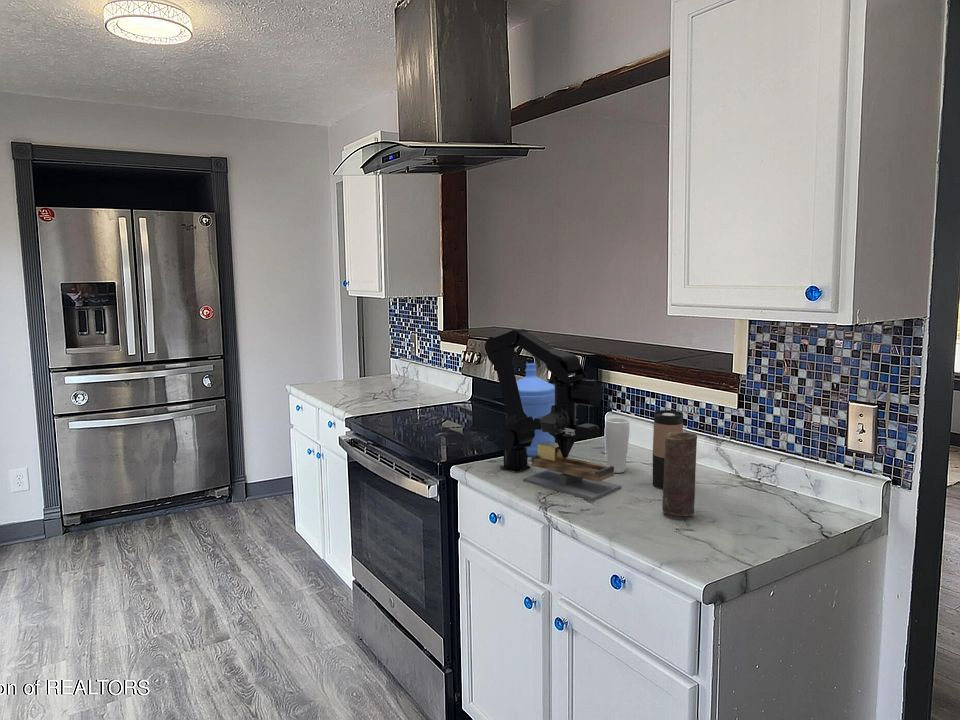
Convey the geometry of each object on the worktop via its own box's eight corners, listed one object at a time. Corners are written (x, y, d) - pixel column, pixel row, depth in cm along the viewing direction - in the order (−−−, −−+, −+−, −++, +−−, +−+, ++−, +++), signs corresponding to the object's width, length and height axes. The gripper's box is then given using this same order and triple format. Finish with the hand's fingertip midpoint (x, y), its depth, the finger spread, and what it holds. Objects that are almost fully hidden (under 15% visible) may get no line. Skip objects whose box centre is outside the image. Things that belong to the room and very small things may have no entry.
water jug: (537, 460, 212) (537, 369, 208) (496, 451, 221) (496, 364, 217) (564, 449, 224) (565, 363, 220) (524, 441, 233) (524, 359, 229)
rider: (537, 461, 193) (537, 444, 192) (547, 458, 196) (547, 441, 195) (554, 465, 189) (554, 447, 188) (564, 462, 192) (564, 444, 191)
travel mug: (683, 483, 189) (685, 411, 187) (678, 491, 183) (681, 417, 180) (654, 479, 193) (656, 408, 190) (648, 487, 186) (651, 414, 183)
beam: (531, 465, 193) (531, 456, 192) (547, 460, 198) (547, 451, 198) (598, 482, 178) (598, 472, 177) (613, 475, 183) (613, 466, 183)
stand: (523, 481, 192) (523, 468, 191) (552, 470, 201) (552, 458, 200) (592, 500, 176) (593, 487, 175) (620, 488, 185) (621, 475, 185)
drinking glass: (628, 475, 197) (629, 423, 195) (604, 473, 198) (605, 422, 196) (628, 468, 203) (629, 417, 201) (604, 466, 205) (605, 417, 202)
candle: (688, 523, 161) (692, 438, 158) (657, 517, 165) (660, 434, 162) (697, 513, 167) (701, 431, 164) (667, 507, 171) (670, 428, 168)
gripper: (519, 401, 187) (519, 457, 190) (575, 410, 175) (575, 471, 177) (545, 395, 195) (545, 449, 198) (601, 404, 183) (600, 461, 185)
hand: (564, 457), depth 189 cm, fingers closed
